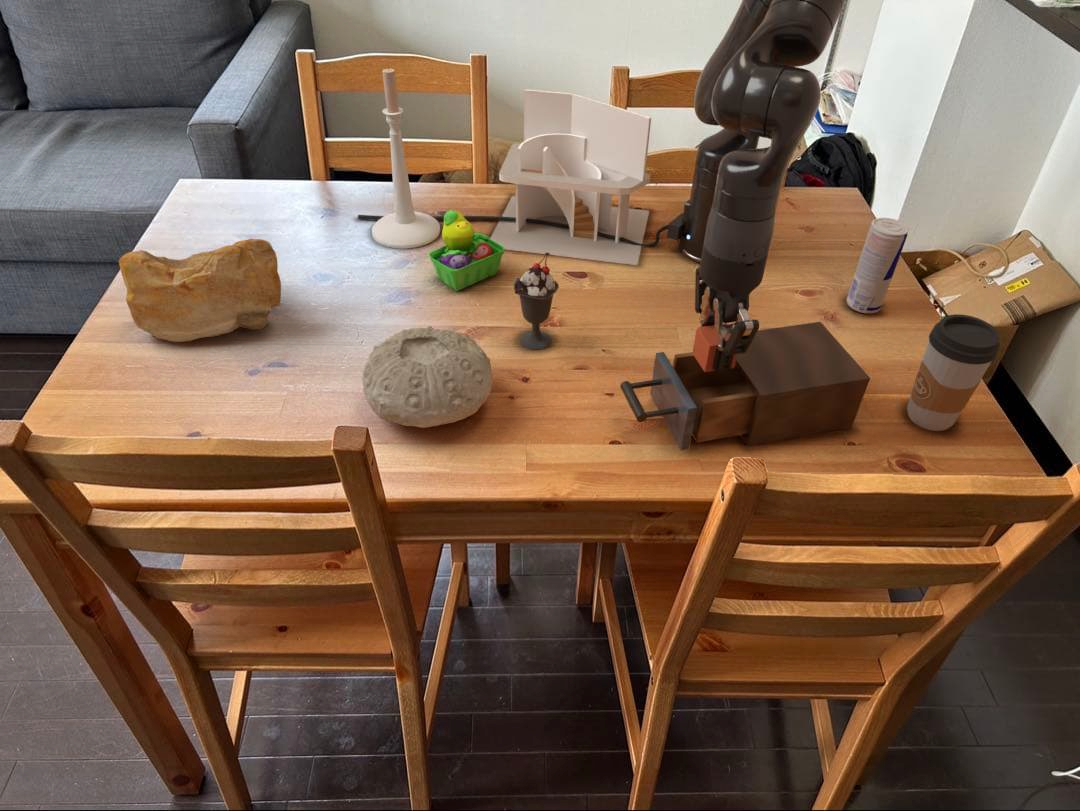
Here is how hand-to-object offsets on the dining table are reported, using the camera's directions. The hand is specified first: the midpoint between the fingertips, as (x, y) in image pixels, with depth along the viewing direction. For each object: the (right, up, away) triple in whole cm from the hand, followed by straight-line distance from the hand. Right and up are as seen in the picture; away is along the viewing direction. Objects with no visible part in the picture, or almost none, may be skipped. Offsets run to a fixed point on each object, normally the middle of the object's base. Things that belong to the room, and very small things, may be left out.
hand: (713, 358), depth 102 cm
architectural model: (-17, +28, +48) cm, 58 cm away
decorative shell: (-38, -6, +9) cm, 40 cm away
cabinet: (+11, -6, +9) cm, 16 cm away
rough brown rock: (-74, +8, +25) cm, 78 cm away
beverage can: (+32, +10, +29) cm, 44 cm away
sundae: (-23, +4, +21) cm, 31 cm away
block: (0, 0, 0) cm, 0 cm away
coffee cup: (+32, -8, +8) cm, 34 cm away
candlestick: (-48, +27, +46) cm, 72 cm away
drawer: (-1, -8, +6) cm, 10 cm away
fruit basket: (-36, +17, +35) cm, 52 cm away
